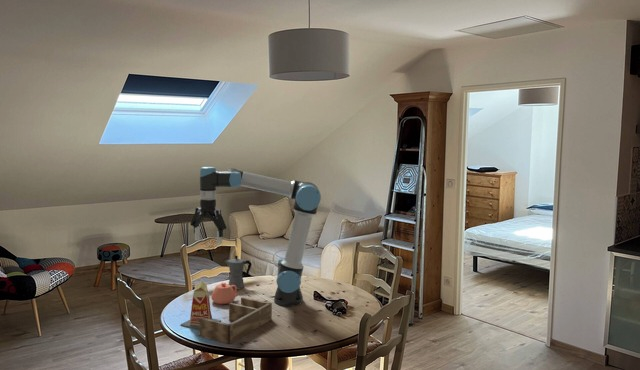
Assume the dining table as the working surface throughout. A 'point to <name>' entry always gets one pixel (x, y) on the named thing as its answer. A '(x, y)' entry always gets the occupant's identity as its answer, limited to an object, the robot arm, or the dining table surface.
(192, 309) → the milk carton
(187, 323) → the mat
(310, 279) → the dining table surface
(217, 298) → the sugar bowl
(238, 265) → the coffeepot
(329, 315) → the dining table surface
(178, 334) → the dining table surface
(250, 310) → the lane rack
